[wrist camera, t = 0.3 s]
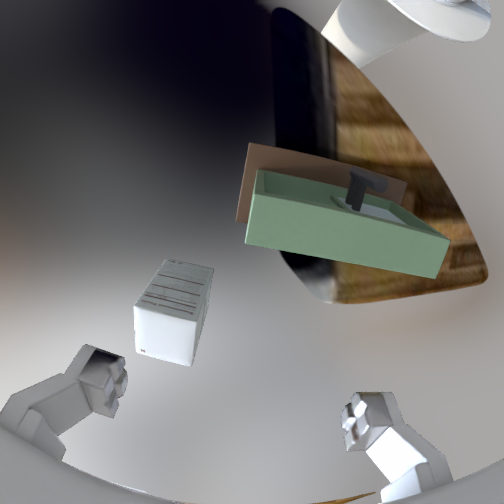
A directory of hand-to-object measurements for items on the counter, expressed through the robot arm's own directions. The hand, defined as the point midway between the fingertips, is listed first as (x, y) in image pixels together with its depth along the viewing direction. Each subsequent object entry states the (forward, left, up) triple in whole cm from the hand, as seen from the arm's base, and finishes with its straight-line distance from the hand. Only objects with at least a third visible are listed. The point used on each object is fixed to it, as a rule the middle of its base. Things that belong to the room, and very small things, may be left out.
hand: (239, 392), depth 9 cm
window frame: (-1, +8, -29) cm, 31 cm away
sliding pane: (-4, +12, -27) cm, 30 cm away
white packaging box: (+15, -8, -30) cm, 34 cm away
